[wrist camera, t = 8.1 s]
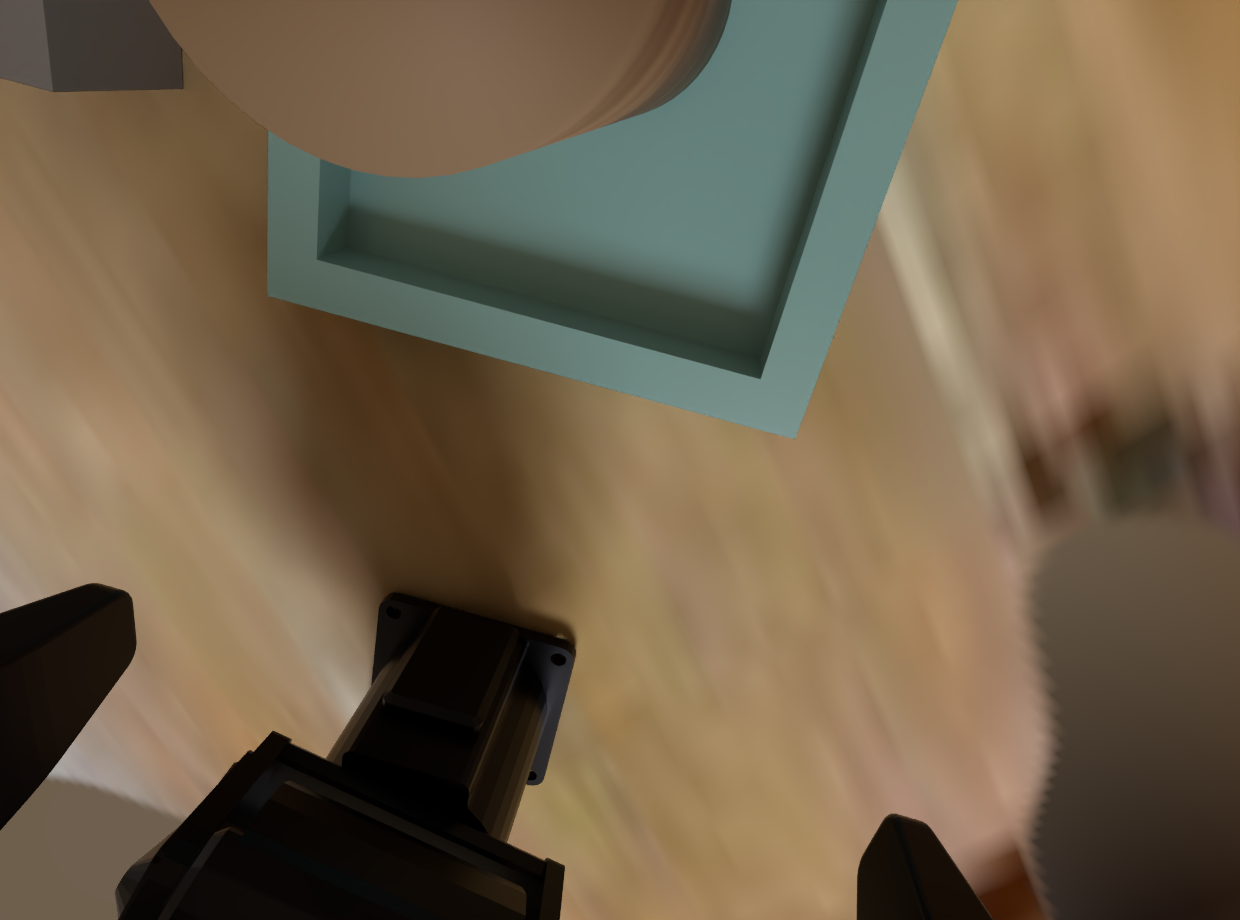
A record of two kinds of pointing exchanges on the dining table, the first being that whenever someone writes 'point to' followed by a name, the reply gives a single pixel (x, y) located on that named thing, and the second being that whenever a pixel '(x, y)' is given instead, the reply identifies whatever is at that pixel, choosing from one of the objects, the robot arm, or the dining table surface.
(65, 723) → the robot arm
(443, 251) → the tray
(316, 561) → the dining table surface
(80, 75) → the holder
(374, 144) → the pepper mill
